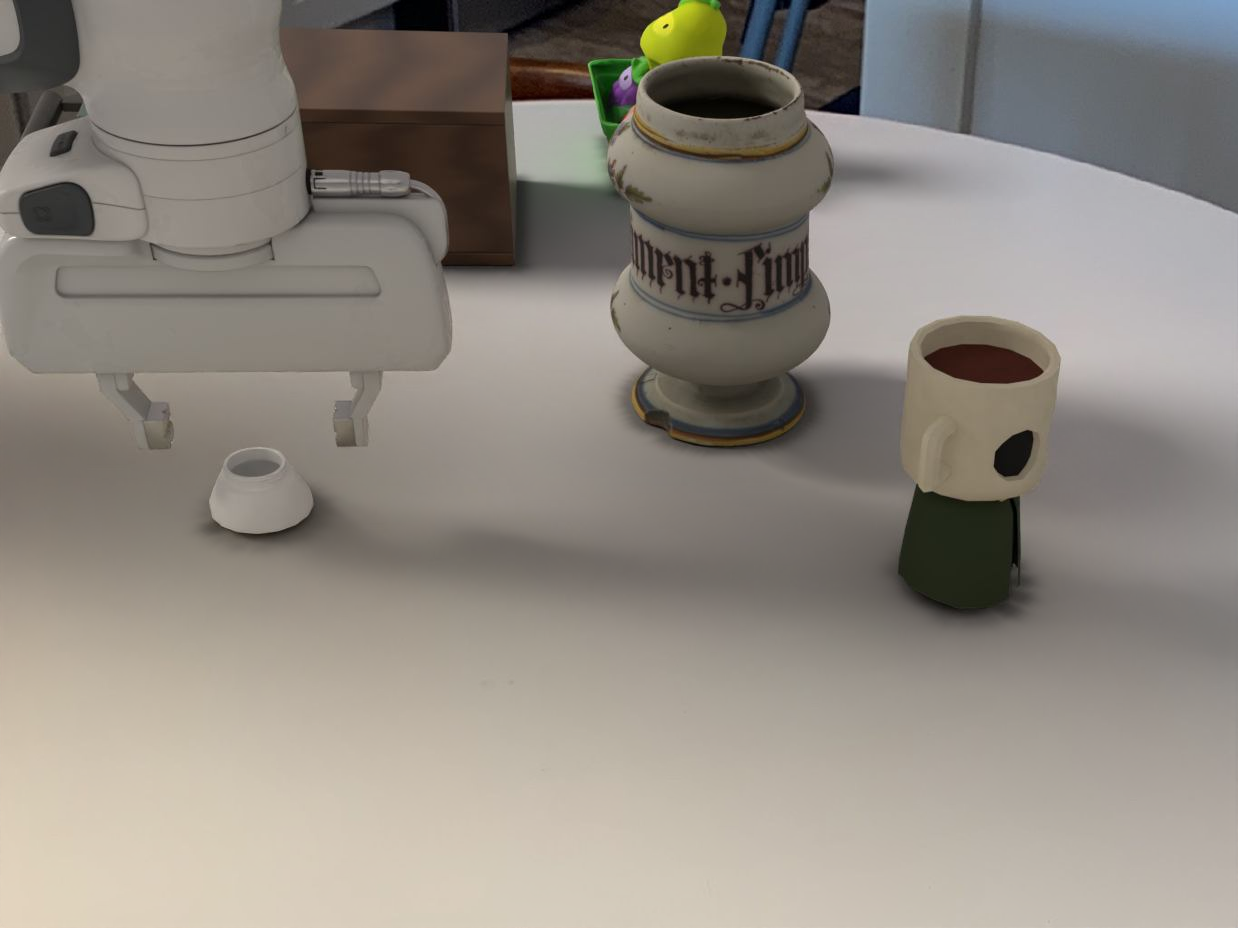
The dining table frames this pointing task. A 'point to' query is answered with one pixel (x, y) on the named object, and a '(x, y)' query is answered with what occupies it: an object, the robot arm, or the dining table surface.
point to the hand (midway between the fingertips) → (256, 442)
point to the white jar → (259, 492)
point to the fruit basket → (656, 56)
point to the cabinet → (416, 121)
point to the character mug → (973, 452)
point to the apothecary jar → (720, 247)
